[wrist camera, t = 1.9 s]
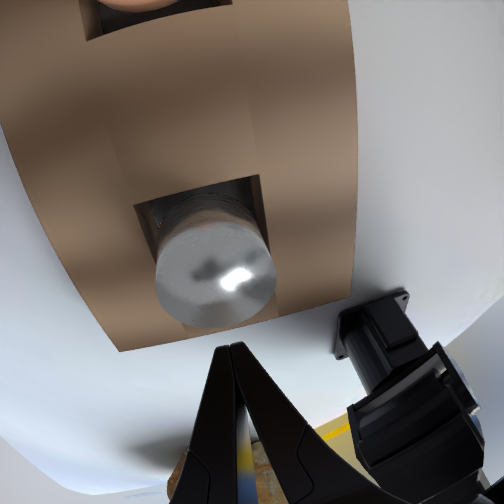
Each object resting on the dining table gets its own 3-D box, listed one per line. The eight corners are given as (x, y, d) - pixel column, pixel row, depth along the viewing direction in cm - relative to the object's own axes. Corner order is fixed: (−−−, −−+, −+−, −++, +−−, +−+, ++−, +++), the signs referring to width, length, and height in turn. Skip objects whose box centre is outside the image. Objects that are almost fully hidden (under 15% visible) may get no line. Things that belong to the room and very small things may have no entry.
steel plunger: (262, 265, 15) (281, 312, 13) (175, 286, 15) (177, 337, 12) (250, 183, 13) (269, 221, 10) (145, 208, 12) (137, 254, 10)
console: (330, 265, 20) (350, 296, 18) (123, 315, 19) (119, 352, 17) (289, -121, 6) (311, -145, 3) (6, -53, 4) (-22, -65, 2)
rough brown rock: (194, 414, 30) (201, 541, 18) (313, 426, 36) (336, 525, 24) (147, 461, 41) (147, 539, 29) (235, 471, 47) (244, 541, 35)
